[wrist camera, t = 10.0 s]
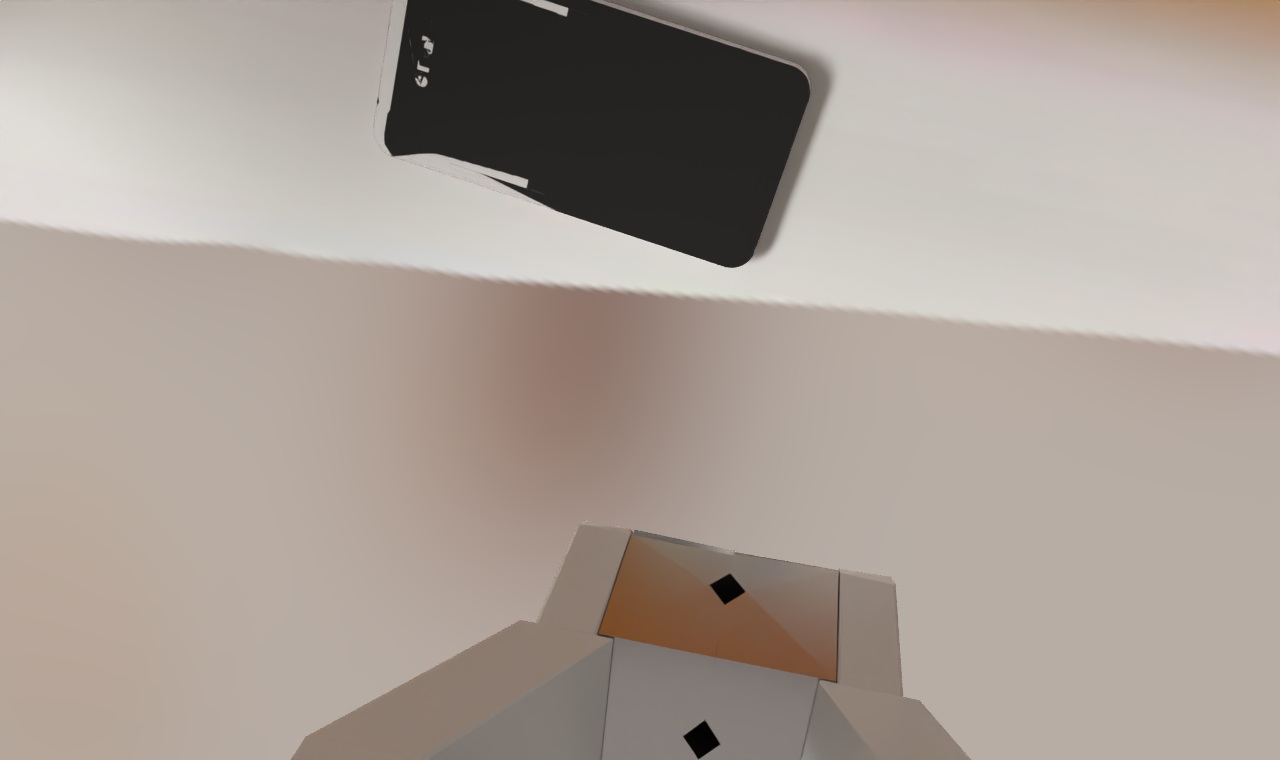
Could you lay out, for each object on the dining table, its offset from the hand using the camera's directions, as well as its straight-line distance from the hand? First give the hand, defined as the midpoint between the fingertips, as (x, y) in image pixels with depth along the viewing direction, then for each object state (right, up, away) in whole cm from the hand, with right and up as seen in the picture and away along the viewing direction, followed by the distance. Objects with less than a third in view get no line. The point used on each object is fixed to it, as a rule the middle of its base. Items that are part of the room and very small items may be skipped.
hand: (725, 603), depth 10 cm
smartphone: (-3, +12, +28) cm, 31 cm away
